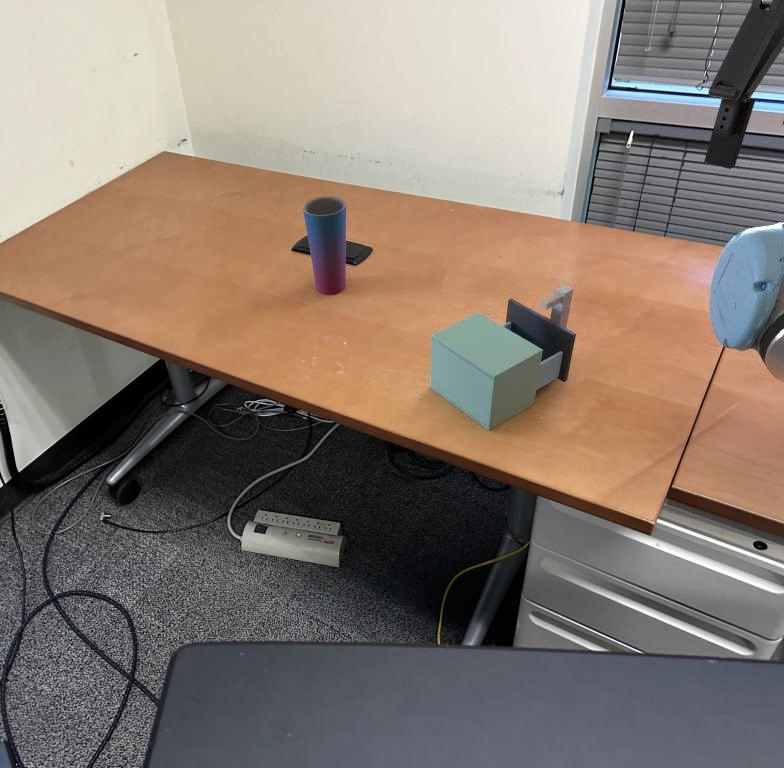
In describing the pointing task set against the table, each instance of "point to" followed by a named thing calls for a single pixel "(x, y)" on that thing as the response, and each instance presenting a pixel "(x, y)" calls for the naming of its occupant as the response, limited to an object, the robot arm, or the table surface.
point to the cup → (327, 242)
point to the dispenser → (484, 369)
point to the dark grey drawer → (546, 333)
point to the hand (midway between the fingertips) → (759, 145)
